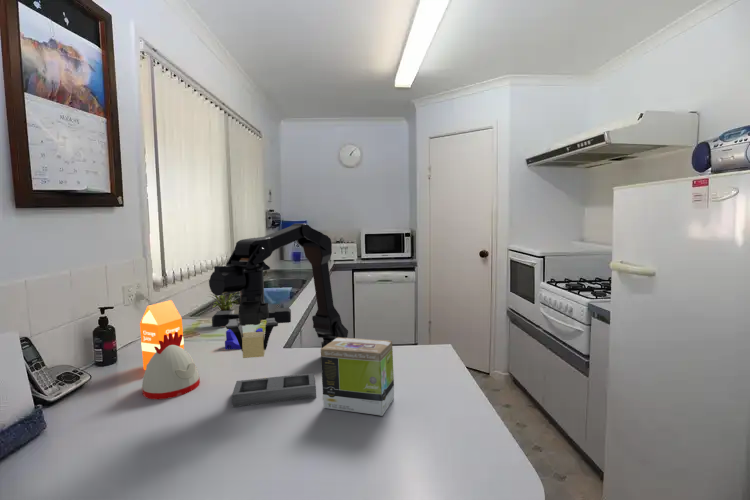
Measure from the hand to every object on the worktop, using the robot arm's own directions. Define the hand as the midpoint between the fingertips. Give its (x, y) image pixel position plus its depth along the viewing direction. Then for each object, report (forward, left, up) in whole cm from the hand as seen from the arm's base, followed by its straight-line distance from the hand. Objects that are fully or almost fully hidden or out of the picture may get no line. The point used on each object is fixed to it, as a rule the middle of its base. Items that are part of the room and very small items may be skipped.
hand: (254, 350), depth 103 cm
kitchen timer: (+23, -11, -12) cm, 28 cm away
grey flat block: (-5, +1, -12) cm, 13 cm away
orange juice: (+30, -29, -12) cm, 43 cm away
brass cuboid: (0, 0, -1) cm, 1 cm away
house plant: (+20, -73, -12) cm, 76 cm away
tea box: (-25, +11, -12) cm, 30 cm away
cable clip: (+8, -41, -12) cm, 44 cm away
